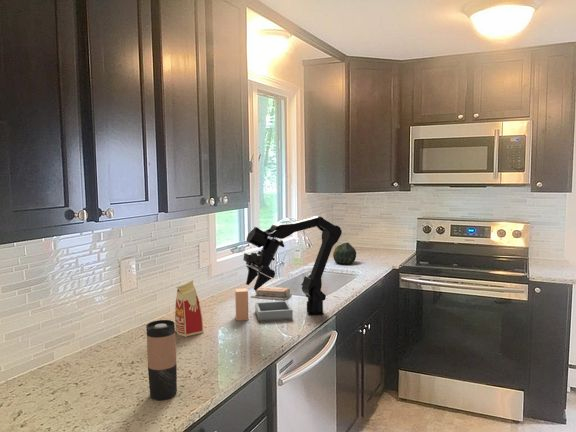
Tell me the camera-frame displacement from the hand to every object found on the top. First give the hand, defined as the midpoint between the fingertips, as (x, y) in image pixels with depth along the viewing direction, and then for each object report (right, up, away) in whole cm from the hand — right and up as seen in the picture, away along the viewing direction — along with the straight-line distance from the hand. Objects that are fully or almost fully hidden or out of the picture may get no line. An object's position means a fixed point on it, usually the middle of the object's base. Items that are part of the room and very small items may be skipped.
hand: (250, 287), depth 189 cm
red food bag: (-23, -16, -8) cm, 30 cm away
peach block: (-4, -14, +8) cm, 17 cm away
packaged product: (+7, -11, +41) cm, 43 cm away
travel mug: (-20, -21, -59) cm, 66 cm away
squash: (+52, -3, +119) cm, 130 cm away
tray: (+9, -14, +10) cm, 19 cm away
